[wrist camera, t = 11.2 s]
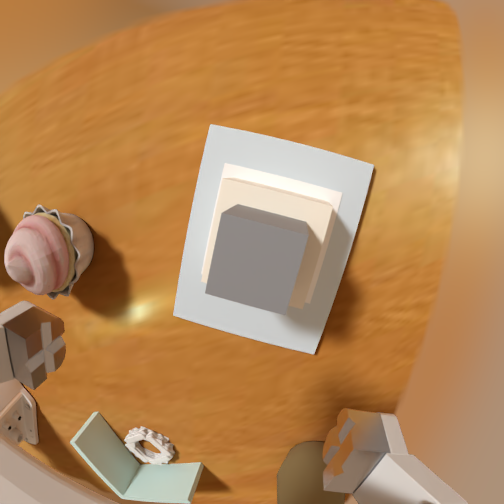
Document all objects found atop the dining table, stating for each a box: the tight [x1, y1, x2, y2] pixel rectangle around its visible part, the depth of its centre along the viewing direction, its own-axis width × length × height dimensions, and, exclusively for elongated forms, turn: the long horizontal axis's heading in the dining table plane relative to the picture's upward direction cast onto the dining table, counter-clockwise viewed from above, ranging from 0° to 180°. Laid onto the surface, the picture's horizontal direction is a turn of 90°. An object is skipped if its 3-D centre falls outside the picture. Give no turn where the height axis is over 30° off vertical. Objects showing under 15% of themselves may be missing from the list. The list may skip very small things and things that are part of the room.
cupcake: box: [4, 204, 94, 299], centre depth 26 cm, size 9×9×10 cm
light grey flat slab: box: [173, 124, 374, 354], centre depth 28 cm, size 18×14×1 cm
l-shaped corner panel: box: [70, 412, 204, 503], centre depth 34 cm, size 12×12×8 cm
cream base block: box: [201, 177, 333, 309], centre depth 25 cm, size 8×8×4 cm
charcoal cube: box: [205, 204, 309, 315], centre depth 21 cm, size 5×5×5 cm
